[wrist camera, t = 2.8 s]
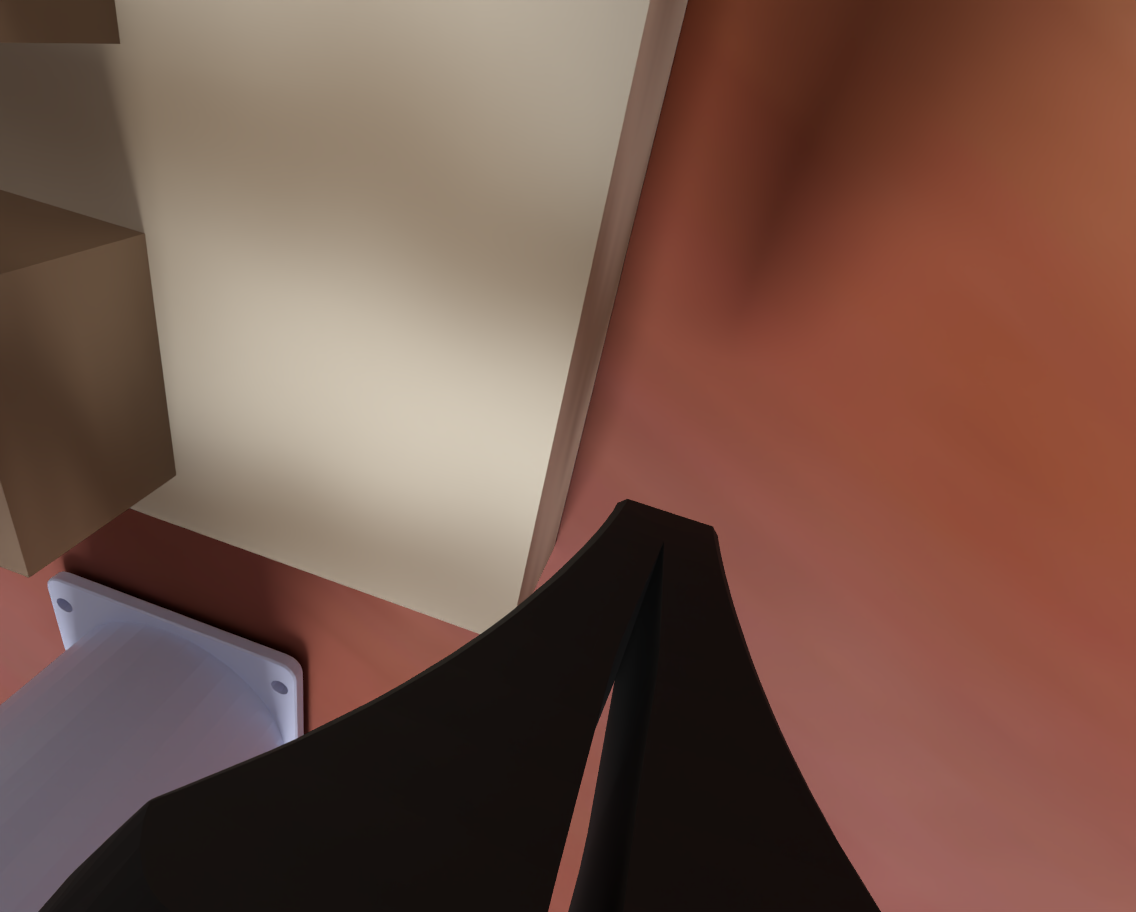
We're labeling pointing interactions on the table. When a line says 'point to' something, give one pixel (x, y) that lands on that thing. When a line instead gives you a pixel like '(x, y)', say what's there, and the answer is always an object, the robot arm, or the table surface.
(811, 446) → the table surface
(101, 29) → the walnut block
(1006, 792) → the table surface
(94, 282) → the walnut block
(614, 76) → the maple board
